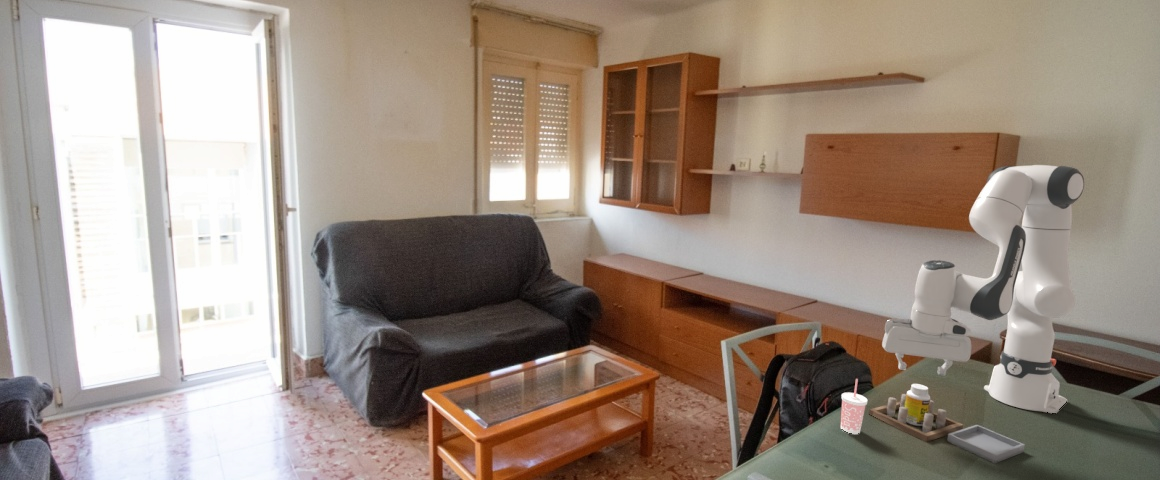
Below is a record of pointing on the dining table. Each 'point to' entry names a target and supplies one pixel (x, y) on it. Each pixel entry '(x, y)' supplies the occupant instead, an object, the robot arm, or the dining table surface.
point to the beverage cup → (852, 411)
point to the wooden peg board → (927, 424)
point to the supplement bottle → (917, 404)
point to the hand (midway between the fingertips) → (921, 371)
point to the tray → (986, 443)
